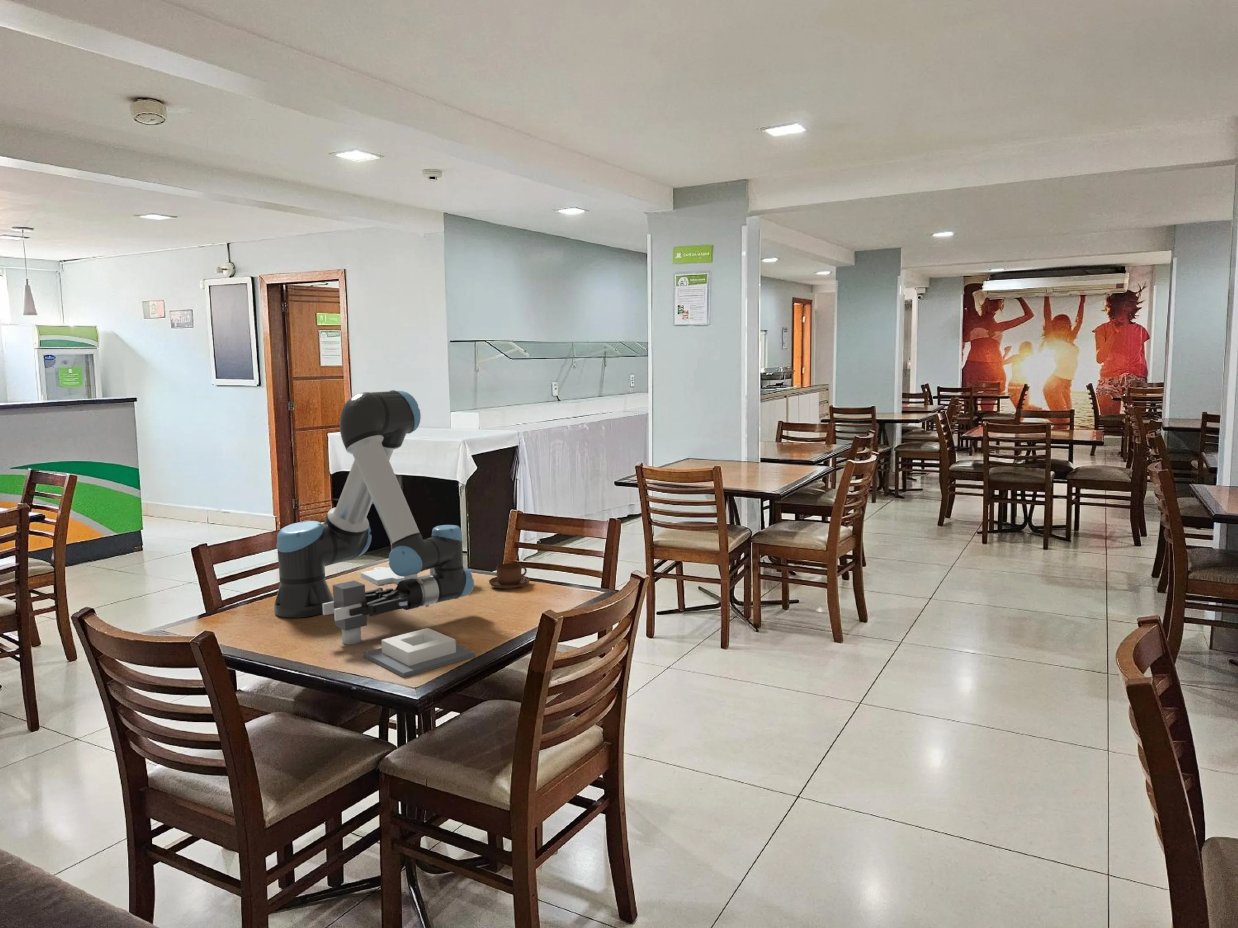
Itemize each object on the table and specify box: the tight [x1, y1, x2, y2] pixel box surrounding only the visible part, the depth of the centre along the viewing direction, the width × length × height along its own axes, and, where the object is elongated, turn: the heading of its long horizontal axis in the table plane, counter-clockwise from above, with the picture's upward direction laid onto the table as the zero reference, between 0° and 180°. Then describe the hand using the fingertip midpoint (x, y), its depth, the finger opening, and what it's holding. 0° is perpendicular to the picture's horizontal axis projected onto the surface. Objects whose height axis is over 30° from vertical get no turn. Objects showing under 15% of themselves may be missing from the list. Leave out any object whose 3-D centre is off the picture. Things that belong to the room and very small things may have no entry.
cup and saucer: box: [488, 562, 530, 590], centre depth 254 cm, size 12×12×6 cm
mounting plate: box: [359, 566, 418, 586], centre depth 266 cm, size 18×13×2 cm
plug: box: [332, 580, 368, 646], centre depth 205 cm, size 6×6×14 cm
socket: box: [363, 627, 476, 678], centre depth 195 cm, size 18×18×4 cm
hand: (329, 612), depth 202 cm, fingers closed on plug, 5 cm apart
